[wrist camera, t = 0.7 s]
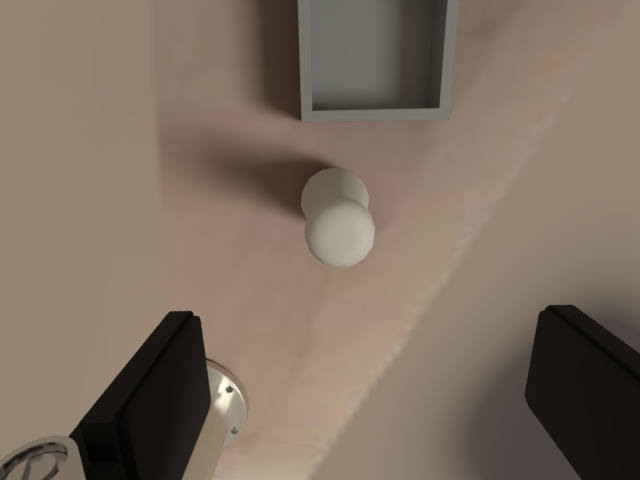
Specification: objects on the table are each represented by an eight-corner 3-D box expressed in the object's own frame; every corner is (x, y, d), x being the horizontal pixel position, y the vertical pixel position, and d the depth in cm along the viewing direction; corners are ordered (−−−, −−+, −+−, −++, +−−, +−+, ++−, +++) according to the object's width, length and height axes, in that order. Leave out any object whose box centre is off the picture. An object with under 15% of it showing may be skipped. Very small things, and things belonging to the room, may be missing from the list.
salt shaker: (361, 229, 35) (382, 288, 22) (300, 224, 35) (288, 281, 22) (368, 166, 33) (396, 193, 21) (304, 161, 33) (294, 185, 20)
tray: (432, 119, 32) (449, 119, 27) (304, 122, 32) (301, 122, 28) (442, -31, 28) (464, -58, 24) (300, -27, 28) (295, -54, 24)
